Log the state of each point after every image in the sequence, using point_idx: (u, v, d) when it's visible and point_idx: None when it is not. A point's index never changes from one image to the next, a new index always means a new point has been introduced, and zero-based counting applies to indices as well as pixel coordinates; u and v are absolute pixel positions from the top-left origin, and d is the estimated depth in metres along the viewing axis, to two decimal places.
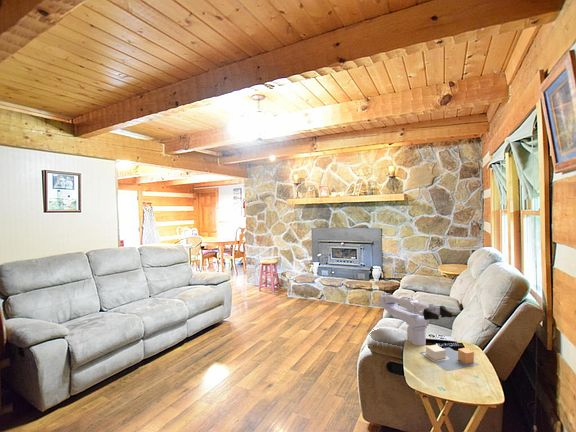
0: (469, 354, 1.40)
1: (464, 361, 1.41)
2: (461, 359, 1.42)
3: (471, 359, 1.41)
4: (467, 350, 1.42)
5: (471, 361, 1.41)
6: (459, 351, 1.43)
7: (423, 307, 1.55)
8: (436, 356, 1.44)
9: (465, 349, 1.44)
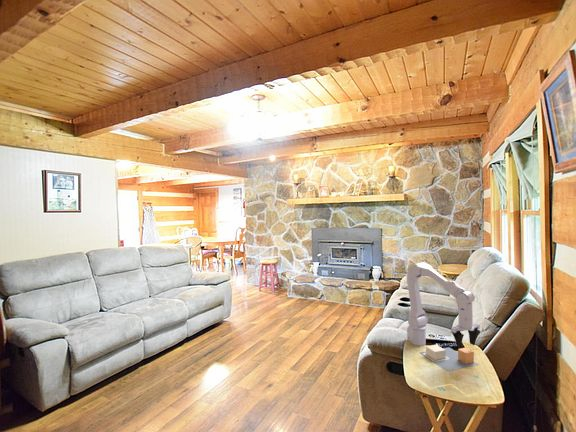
0: (469, 354, 1.40)
1: (464, 361, 1.41)
2: (461, 359, 1.42)
3: (471, 359, 1.41)
4: (467, 350, 1.42)
5: (471, 361, 1.41)
6: (459, 351, 1.43)
7: (464, 322, 1.40)
8: (436, 356, 1.44)
9: (465, 349, 1.44)
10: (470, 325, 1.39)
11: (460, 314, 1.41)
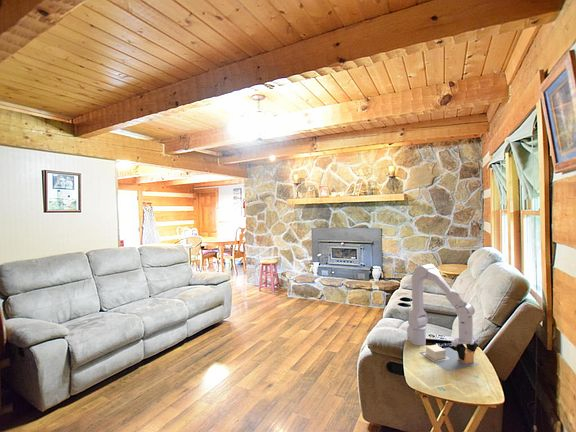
0: (469, 354, 1.40)
1: (464, 361, 1.41)
2: None
3: (471, 359, 1.41)
4: (467, 350, 1.42)
5: (471, 361, 1.41)
6: None
7: (464, 335, 1.40)
8: (436, 356, 1.44)
9: None
10: (470, 338, 1.40)
11: (460, 327, 1.42)
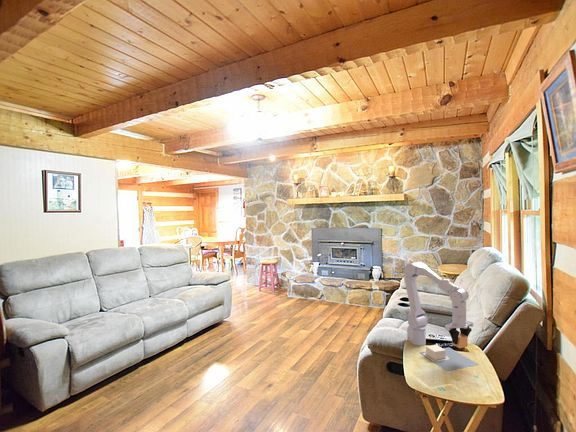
0: (463, 339, 1.41)
1: (458, 346, 1.42)
2: (455, 344, 1.43)
3: (465, 344, 1.42)
4: (461, 335, 1.43)
5: (465, 346, 1.42)
6: None
7: (458, 320, 1.41)
8: (436, 356, 1.44)
9: (459, 334, 1.45)
10: (464, 323, 1.41)
11: (454, 312, 1.42)
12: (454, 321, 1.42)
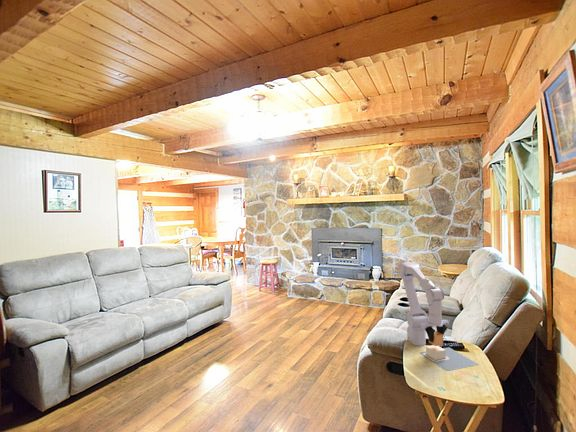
0: (438, 336, 1.45)
1: (434, 343, 1.46)
2: (431, 342, 1.47)
3: (440, 341, 1.46)
4: (437, 333, 1.47)
5: (440, 343, 1.46)
6: None
7: (433, 318, 1.45)
8: (436, 356, 1.44)
9: (435, 332, 1.49)
10: (439, 321, 1.45)
11: None
12: (430, 319, 1.47)
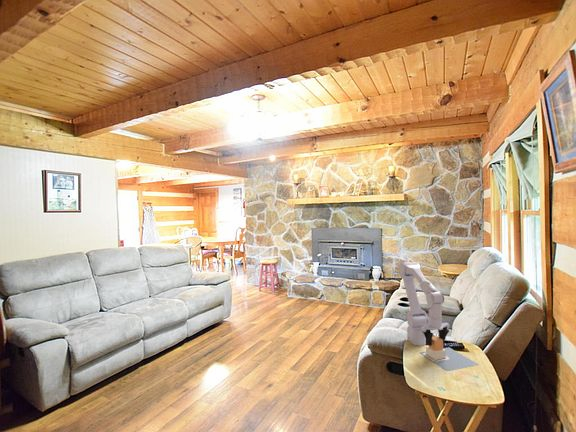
0: (438, 341, 1.45)
1: (434, 348, 1.46)
2: (431, 346, 1.47)
3: (440, 346, 1.46)
4: (437, 338, 1.47)
5: (440, 348, 1.46)
6: None
7: (434, 321, 1.45)
8: (436, 356, 1.44)
9: (435, 337, 1.49)
10: (439, 324, 1.45)
11: None
12: (430, 323, 1.47)
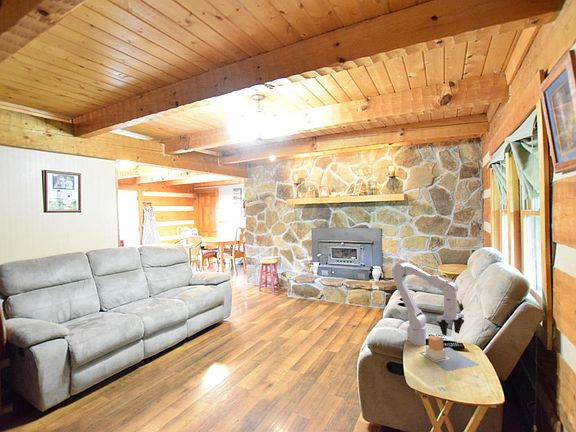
0: (438, 341, 1.45)
1: (434, 348, 1.46)
2: (431, 346, 1.47)
3: (440, 346, 1.46)
4: (437, 338, 1.47)
5: (440, 348, 1.46)
6: (429, 339, 1.48)
7: (449, 312, 1.49)
8: (436, 356, 1.44)
9: (435, 337, 1.49)
10: (454, 314, 1.48)
11: (446, 304, 1.49)
12: (445, 313, 1.50)
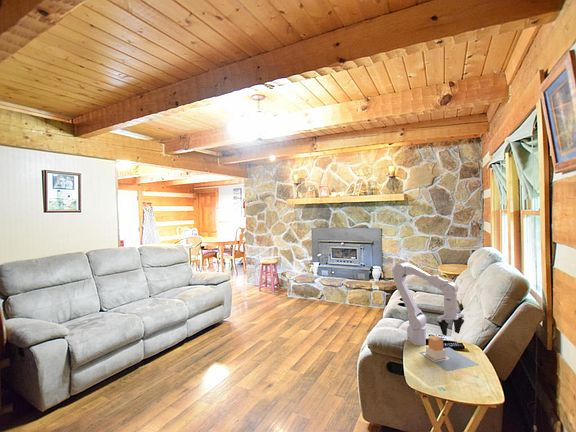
0: (438, 341, 1.45)
1: (434, 348, 1.46)
2: (431, 346, 1.47)
3: (440, 346, 1.46)
4: (437, 338, 1.47)
5: (440, 348, 1.46)
6: (429, 339, 1.48)
7: (449, 312, 1.49)
8: (436, 356, 1.44)
9: (435, 337, 1.49)
10: (454, 314, 1.48)
11: (446, 304, 1.49)
12: (445, 313, 1.50)
